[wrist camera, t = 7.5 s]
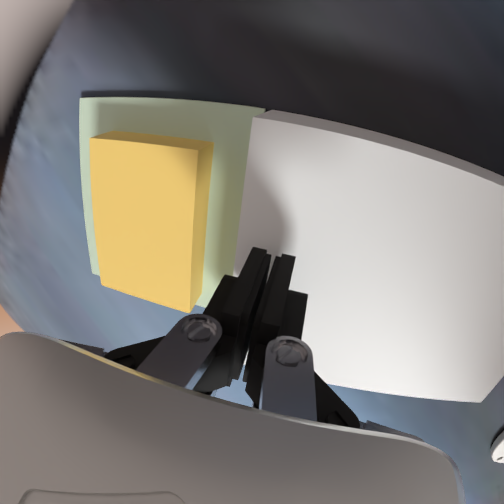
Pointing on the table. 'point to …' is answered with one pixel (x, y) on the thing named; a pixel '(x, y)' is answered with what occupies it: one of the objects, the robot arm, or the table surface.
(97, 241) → the tile
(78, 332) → the table surface
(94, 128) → the mat
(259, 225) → the plate
